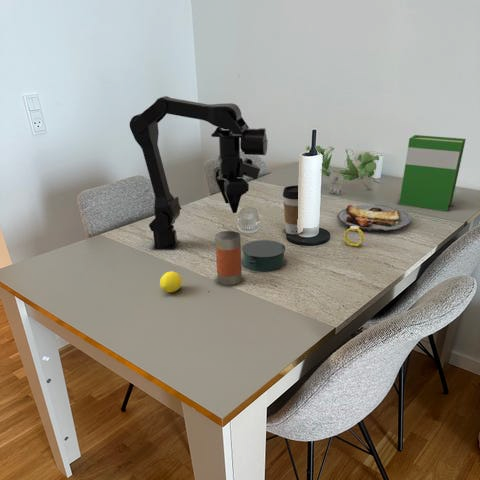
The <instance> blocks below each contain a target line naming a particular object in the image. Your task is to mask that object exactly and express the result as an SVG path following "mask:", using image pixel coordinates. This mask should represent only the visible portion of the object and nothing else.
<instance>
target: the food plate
mask: <svg viewBox="0 0 480 480" xmlns="http://www.w3.org/2000/svg"><path fill="white" fill-rule="evenodd" d="M336 217H337V219H338V220H339V222H341V223H342V224H344V225H346V226H347V225H349V226H350V227H351V226H358V227H359V229H360V230H365V231H367V232H370V231H380V230H382V231H391V230H398V229H401V228H402V227H405V226H407V225H409V224H410V223H411V222H412V218H413V215H412V214H411V213H409V212H408V211H407V210H404V209H402V208H397V207H393V206H390V205H383V204H379V205H378V204H369V205H368V204H363V205H354V204H353V205H352V204H348V205H347V207H346V208H343V209H342V210H340V211H339V212H338V213H337V215H336Z"/></svg>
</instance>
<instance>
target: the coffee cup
mask: <svg viewBox="0 0 480 480" xmlns="http://www.w3.org/2000/svg"><path fill="white" fill-rule="evenodd" d="M282 197H283V212H284V224H285V228H284V229H285V233H286V234H288V235H294V236H296V235H299V234H298V233H297V232H296V231H297V219H298V185H288V186H285V187H284V188H283V191H282ZM292 231H293V232H292Z"/></svg>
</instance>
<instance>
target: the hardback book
mask: <svg viewBox="0 0 480 480" xmlns="http://www.w3.org/2000/svg"><path fill="white" fill-rule="evenodd" d="M466 140H467V138H459V137H458V138H457V137H446V136H436V135H435V136H434V135H422V134H421V135H420V134H414V135H413V136H411V137H410V138H408V146H407V150H406V151H407V152H406V158H405V165H404V170H403V177H402V183H401V188H400V189H401V190H400V196H399V201H398V202H399V205H404V206H409V207H411V206H412V207H417V208H425V209H430V210H438V211H445V212H448V209H449V207H451V206H452V203H453V199H454V194H455V190H456V186H457V181H458V177H459V173H460V167H461V163H462V158H463V154H464V150H465V144H466Z"/></svg>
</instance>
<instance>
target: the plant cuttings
mask: <svg viewBox="0 0 480 480" xmlns="http://www.w3.org/2000/svg"><path fill="white" fill-rule="evenodd" d="M315 146H316V149H317V151H318V152H319V153H321V154H322V155H323V163H322V170H321V171H322V177H323V176H326V177H327V178H329V177H330V176H331V173H332V172H334V173H338V174H337V175H335V176H334V178H333V180H334V181H333V185H332V186H330V188H329V192H331V193H332V192H334V191H336V195H339V194H341V193H342V187H343V186H344V183H347V181H354V180H356V179H359V180H360V181H362V180H363V179H364V177H365V176H366V175H367V177H368V178H372V180H373V182H375V183H377V184H381V182H380V181H377V180H376V179H374V177H373V176H374V175H375V171H376V169H377V163H376V162H375V161H380V156H379V155H372V154H370V152H367V151H366V152H365V153H364V154H361V153H360V154H359V155H358V157H355V158H354V160H352V158H351V157H352V156H353V155H355V152H354V151H353V149H351V148H348V149H347V148H345V153H346V158H345V161H346V163H345V162H344V163H343V166H344V167H345V168H344V169H342V170H334V169H333V170H332V172H331V171H330V170H331V167H330V164H331V160H332V155H333V154H332V152H333V151H334V150H335V147H334V146H330V147H328V148H327V147H326V148H323V147H321V146H320V145H315ZM310 148H311V147H310V145H307V146H306V148H305V151H307V152H308V151H309V150H310ZM348 151H351V153H352V155H349V152H348ZM309 152H310V151H309ZM325 152H326V153H325ZM329 154H330V156H329ZM353 161H355V162H360V163H359V164H358V166H356V165H355V163H354V162H353ZM358 169H359V170H360V172H359V170H358ZM339 175H341V176H342V178H339ZM338 180H340V186H339V187H335V186H337V183H339V181H338ZM362 184H363V185H364V186H365V188H367V189H369V190H370V188H369V186H367V185H366V183H365V182H362ZM334 185H335V186H334ZM334 187H335V188H334Z"/></svg>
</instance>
